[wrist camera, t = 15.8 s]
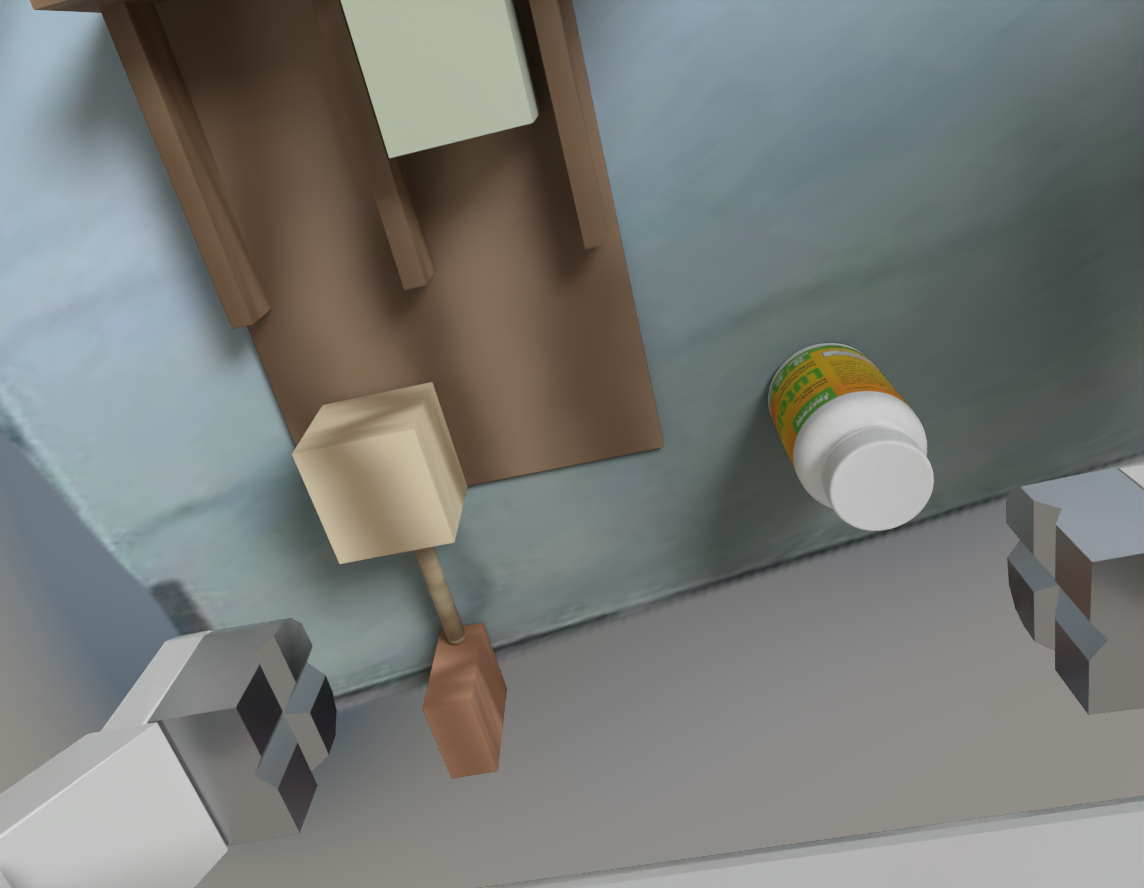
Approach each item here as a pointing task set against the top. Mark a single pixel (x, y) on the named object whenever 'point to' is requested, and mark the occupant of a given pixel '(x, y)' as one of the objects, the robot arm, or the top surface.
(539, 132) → the walnut rack
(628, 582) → the top surface
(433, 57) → the sage block
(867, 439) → the supplement bottle
